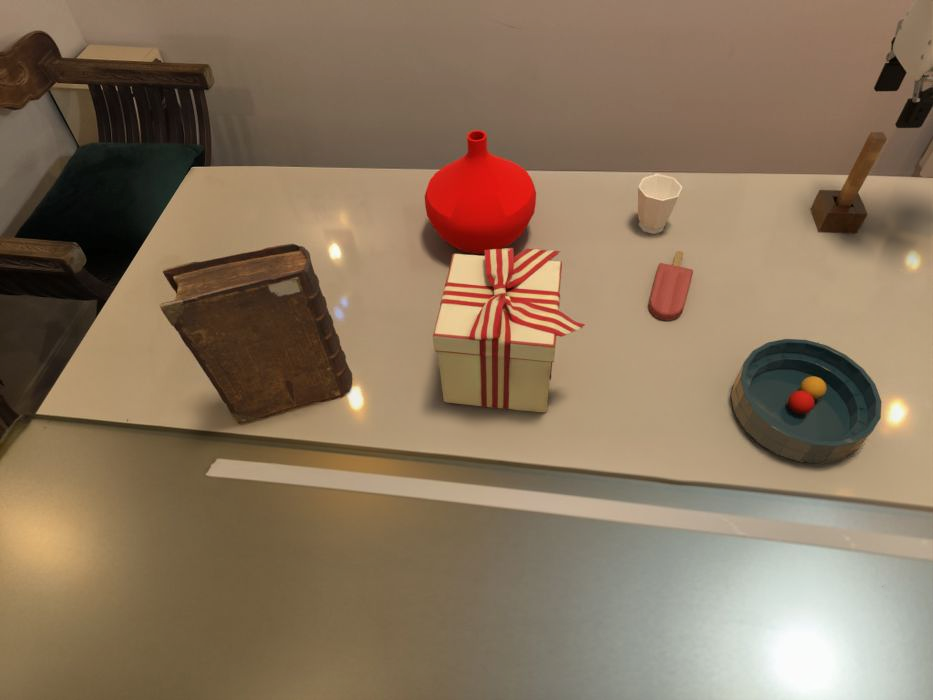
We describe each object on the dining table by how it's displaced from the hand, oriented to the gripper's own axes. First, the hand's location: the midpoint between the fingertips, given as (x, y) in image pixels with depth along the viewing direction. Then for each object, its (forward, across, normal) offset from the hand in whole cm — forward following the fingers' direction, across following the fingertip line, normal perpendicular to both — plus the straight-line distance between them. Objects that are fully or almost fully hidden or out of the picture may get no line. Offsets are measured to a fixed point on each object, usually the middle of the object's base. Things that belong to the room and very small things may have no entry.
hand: (896, 108), depth 86 cm
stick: (+21, +1, 0) cm, 21 cm away
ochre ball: (+19, -36, +13) cm, 43 cm away
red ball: (+19, -39, +15) cm, 45 cm away
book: (+20, -42, +83) cm, 95 cm away
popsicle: (+20, -16, +29) cm, 39 cm away
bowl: (+21, -38, +15) cm, 46 cm away
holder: (+21, 0, +1) cm, 21 cm away
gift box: (+20, -34, +53) cm, 66 cm away
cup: (+20, 0, +31) cm, 37 cm away
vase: (+20, -6, +60) cm, 63 cm away
